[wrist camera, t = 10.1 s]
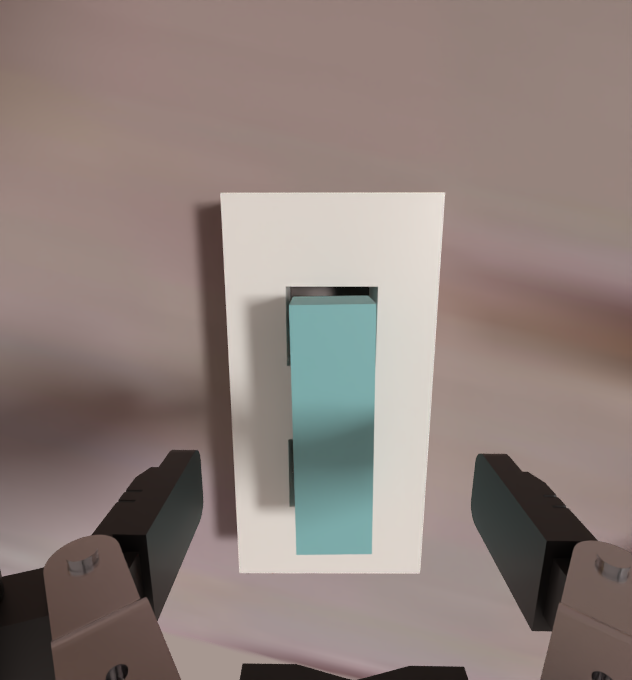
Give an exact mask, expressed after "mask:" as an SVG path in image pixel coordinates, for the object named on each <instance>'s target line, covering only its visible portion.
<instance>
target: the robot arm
mask: <svg viewBox="0 0 632 680" xmlns="http://www.w3.org/2000/svg"><path fill="white" fill-rule="evenodd" d="M202 509H203V488H202V474H201V460H200V454H199V451H198V450H171V451H170V452H169V453H168V455H167V456H166V458H165V459H164V461H163V462H162V463H161V465H160V466H159V467H151V468H149V469H148V470H146V471H145V472H143V473H142V474H140V475H139V476H137V477H136V478H135V479H134V480H133V482H132V483H131V484H130V486H129V487H128V488H127V489H126V492H124V493H123V495H122V496H121V497H120V499H119V501H118V502H117V503H116V504H115V505H114V506H113V508H112V509H111V510H110V512H109V513H108V514H107V516H106V517H105V518H104V519H103V521H102V522H101V523H100V525H99V526H98V527H97V529H96V530H95V531H94V533H93V534H92V535H91V536H86V537H83V538H79V539H77V540H74V541H72V542H70V543H68V544H66V545H65V546H63V547H61V548H60V549H59V550H57V551H56V552H55V553H54V554H53V555H52V556H51V557H50V558H49V559H48V561H47V562H46V564H45V567H44V568H40V569H36V570H31V571H27V572H22V573H17V574H13V575H8V576H4V577H2V575H1V571H0V680H181V678H180V676H179V673H178V671H177V668H176V666H175V664H174V661H173V659H172V656H171V654H170V652H169V649H168V647H167V644H166V642H165V639H164V637H163V634H162V632H161V629H160V627H159V624H158V622H157V621H158V618H159V616H160V614H161V611H162V609H163V607H164V604H165V602H166V600H167V597H168V595H169V593H170V590H171V588H172V585H173V583H174V581H175V578H176V576H177V574H178V571H179V569H180V567H181V564H182V562H183V560H184V557H185V555H186V552H187V550H188V548H189V545H190V543H191V541H192V538H193V536H194V534H195V531H196V529H197V527H198V524H199V522H200V519H201V515H202ZM471 511H472V517H473V521H474V523H475V526H476V528H477V530H478V531H479V533H480V535H481V537H482V539H483V541H484V543H485V544H486V546H487V548H488V550H489V552H490V554H491V556H492V558H493V559H494V561H495V563H496V565H497V567H498V569H499V571H500V572H501V574H502V576H503V578H504V580H505V582H506V584H507V586H508V587H509V589H510V591H511V593H512V595H513V597H514V599H515V600H516V602H517V604H518V606H519V608H520V610H521V612H522V614H523V615H524V617H525V619H526V621H527V623H528V625H529V627H530V628H531V630H532V631H552V634H551V638H550V642H549V646H548V651H547V655H546V659H545V663H544V667H543V671H542V675H541V680H632V554H631V553H630V552H628V551H626V550H624V549H622V548H620V547H617V546H615V545H612V544H609V543H605V542H600V541H598V540H597V539H596V538H595V537H594V536H593V535H592V534H591V533H590V532H589V531H588V529H587V528H586V527H585V526H584V525H583V524H582V523H581V522H580V521H579V520H578V518H577V517H576V516H575V515H574V514H573V513H572V512H571V511H570V510H569V509H568V508H566V505H565V504H564V503H563V502H562V501H561V500H560V499H559V498H557V497H556V494H555V493H554V492H553V491H552V490H551V489H550V488H549V487H548V486H547V484H546V483H545V482H543V481H541V480H540V479H538V478H537V477H535V476H533V475H532V474H530V473H529V472H522V471H521V470H520V468H519V467H518V466H517V465H516V464H515V463H514V461H513V460H512V459H511V458H510V457H509V456H508V455H507V454H478V456H477V458H476V462H475V470H474V479H473V489H472V498H471ZM240 680H350V679H346V678H343V677H339V676H336V675H332V674H329V673H325V672H322V671H318V670H315V669H311V668H308V667H304V666H301V665H297V664H243V665H242V670H241V676H240ZM359 680H468V677H467V674H466V671H465V668H464V667H446V666H407V667H404V668H400V669H396V670H393V671H389V672H385V673H382V674H378V675H374V676H370V677H367V678H363V679H359Z"/></svg>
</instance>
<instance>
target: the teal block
mask: <svg viewBox="0 0 632 680" xmlns="http://www.w3.org/2000/svg"><path fill="white" fill-rule="evenodd" d="M289 323H290V356H291V390H292V424H293V457H294V491H295V525H296V555H342V554H372V521H373V467H374V412H375V357H376V303H375V302H374V301H373V300H372V299H371V298H370V297H369V296H298V297H293V298H292V300H291V302H290V304H289Z"/></svg>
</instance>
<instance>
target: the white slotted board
mask: <svg viewBox="0 0 632 680" xmlns="http://www.w3.org/2000/svg"><path fill="white" fill-rule="evenodd" d="M220 196H221V215H222V235H223V255H224V275H225V295H226V315H227V335H228V355H229V374H230V394H231V414H232V434H233V454H234V474H235V494H236V514H237V533H238V553H239V573H420V565H421V550H422V535H423V520H424V504H425V489H426V474H427V459H428V444H429V428H430V413H431V398H432V383H433V367H434V352H435V337H436V322H437V306H438V291H439V276H440V261H441V246H442V230H443V215H444V200H445V192H425V193H220ZM290 287H369V297H370V298H371V299H372V300H373V301H374V302H375V303H376V357H375V412H374V467H373V521H372V554H342V555H296V525H295V491H294V473H293V424H292V390H291V356H290V323H289V304H290Z"/></svg>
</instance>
